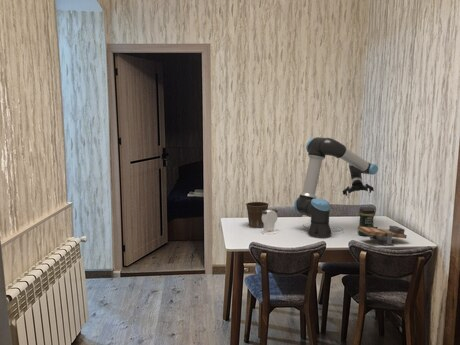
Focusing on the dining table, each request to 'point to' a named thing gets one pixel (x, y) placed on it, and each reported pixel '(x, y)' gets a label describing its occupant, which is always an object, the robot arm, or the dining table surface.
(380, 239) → the beam stand
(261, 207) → the plant pot
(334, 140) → the robot arm
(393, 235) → the seesaw beam
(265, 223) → the white sculpture
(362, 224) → the coffee jar
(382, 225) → the dining table surface
